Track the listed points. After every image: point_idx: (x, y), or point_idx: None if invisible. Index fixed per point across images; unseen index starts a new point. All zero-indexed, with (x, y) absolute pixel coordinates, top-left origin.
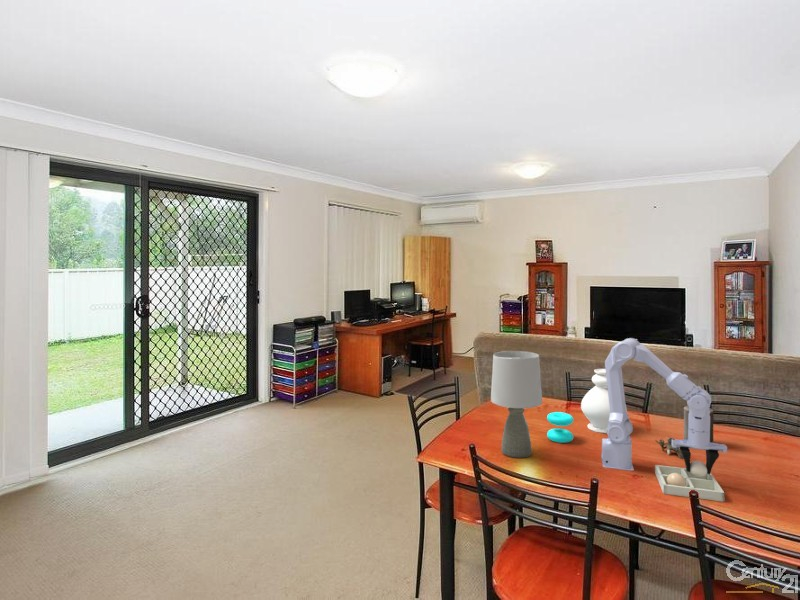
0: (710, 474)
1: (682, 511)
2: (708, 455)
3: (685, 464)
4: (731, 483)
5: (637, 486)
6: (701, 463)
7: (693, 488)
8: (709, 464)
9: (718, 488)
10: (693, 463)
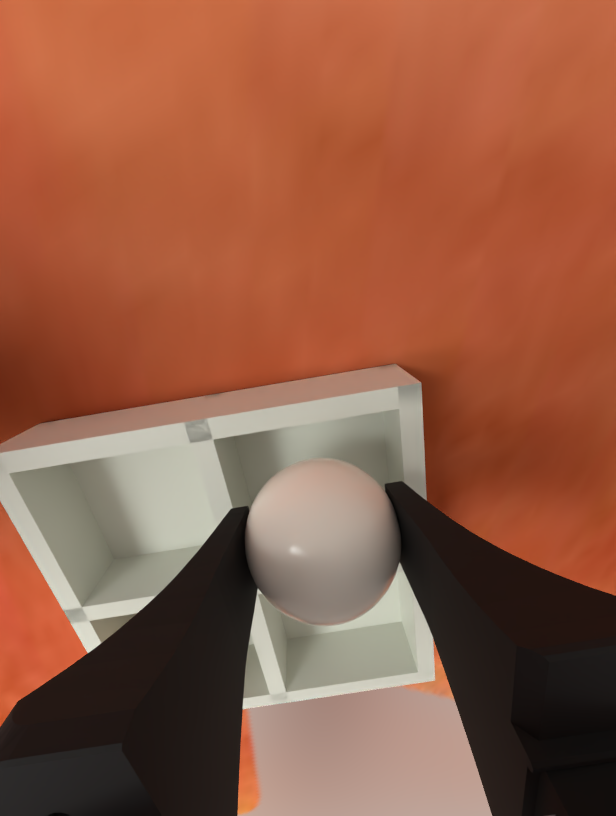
0: (412, 458)
1: (242, 741)
2: (479, 723)
3: (213, 534)
4: (532, 350)
5: (18, 635)
6: (358, 611)
7: (281, 698)
8: (433, 633)
9: (416, 647)
10: (281, 612)
